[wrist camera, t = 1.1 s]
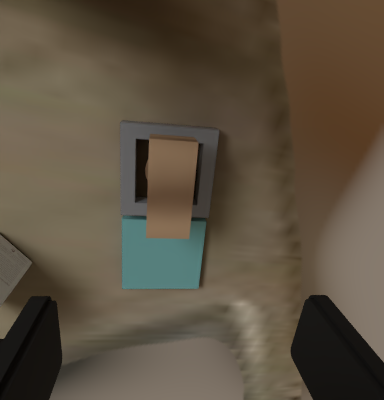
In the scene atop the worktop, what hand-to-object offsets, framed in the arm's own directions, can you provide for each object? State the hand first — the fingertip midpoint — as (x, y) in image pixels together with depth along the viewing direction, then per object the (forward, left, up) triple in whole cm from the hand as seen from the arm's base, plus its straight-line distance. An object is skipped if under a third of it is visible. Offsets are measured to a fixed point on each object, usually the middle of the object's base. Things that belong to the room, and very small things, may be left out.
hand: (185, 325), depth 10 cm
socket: (0, 0, -22) cm, 22 cm away
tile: (+11, 0, -22) cm, 25 cm away
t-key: (0, 0, -22) cm, 22 cm away
